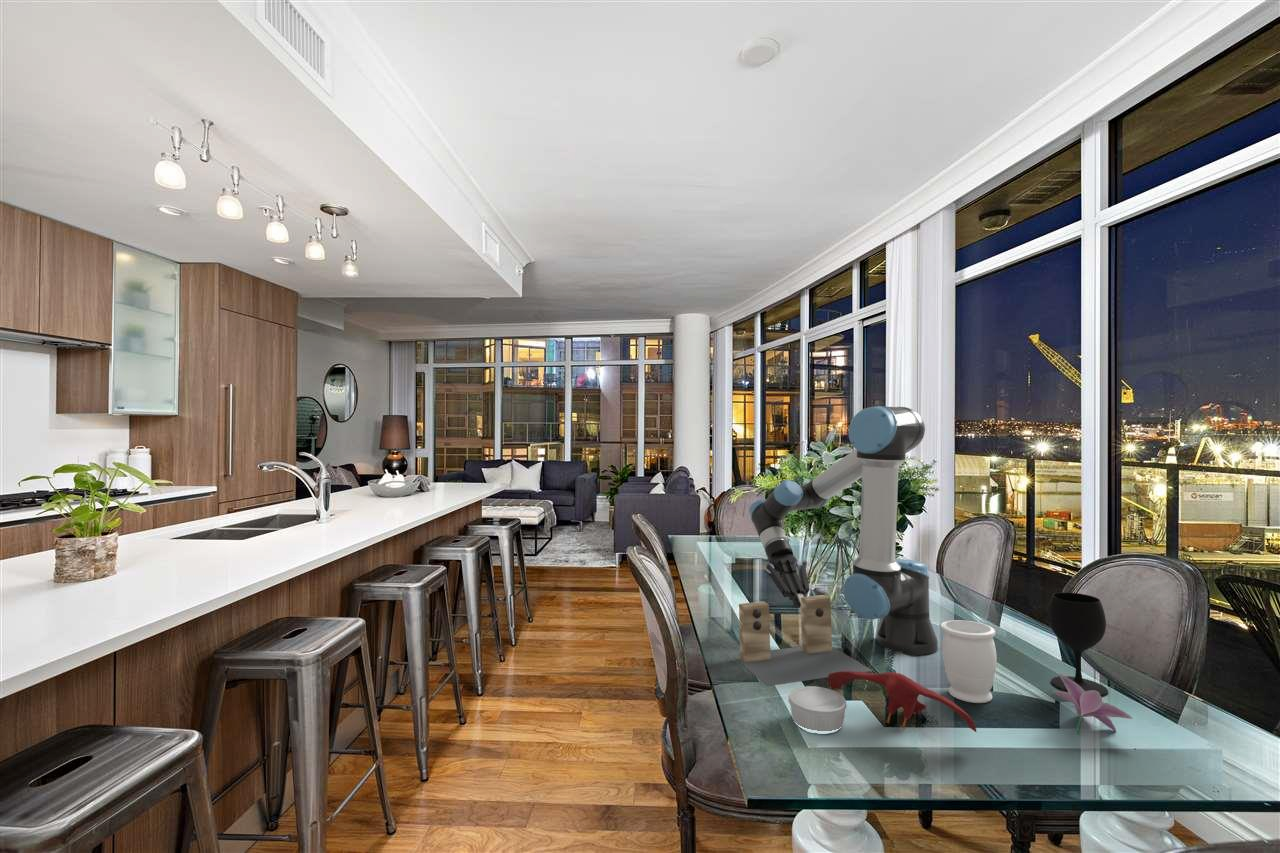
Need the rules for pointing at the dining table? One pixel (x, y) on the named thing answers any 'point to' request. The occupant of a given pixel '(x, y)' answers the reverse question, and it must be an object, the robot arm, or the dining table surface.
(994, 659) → the jar
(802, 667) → the mat
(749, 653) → the tile two
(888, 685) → the red dinosaur figurine
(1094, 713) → the lily
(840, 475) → the robot arm
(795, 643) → the dining table surface
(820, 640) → the tile one
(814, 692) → the ramekin
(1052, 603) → the wine glass
